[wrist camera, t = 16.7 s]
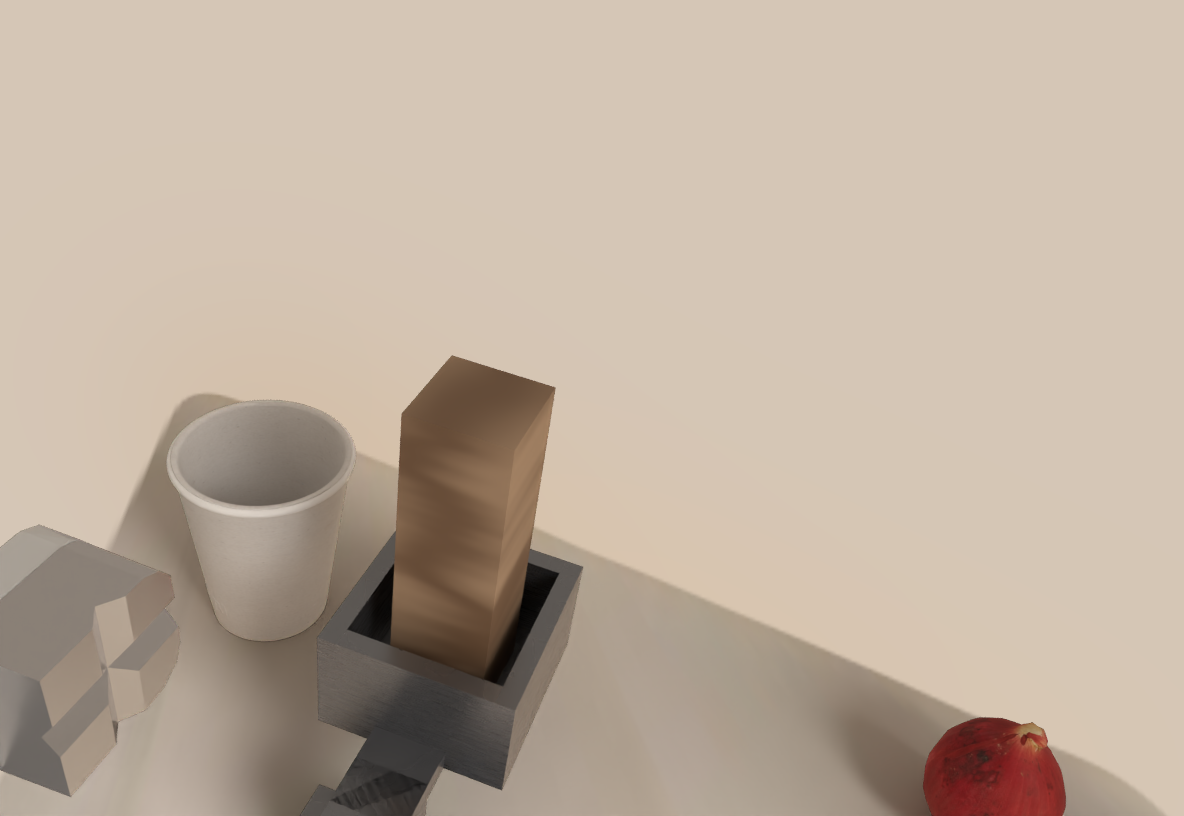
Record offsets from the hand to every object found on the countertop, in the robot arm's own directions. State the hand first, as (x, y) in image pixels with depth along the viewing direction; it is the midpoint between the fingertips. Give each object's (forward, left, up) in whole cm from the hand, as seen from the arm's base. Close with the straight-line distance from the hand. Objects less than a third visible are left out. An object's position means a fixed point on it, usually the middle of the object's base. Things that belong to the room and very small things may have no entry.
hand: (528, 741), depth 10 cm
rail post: (+8, -20, -25) cm, 33 cm away
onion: (-16, -26, -32) cm, 44 cm away
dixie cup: (+20, -25, -32) cm, 45 cm away
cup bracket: (+8, -17, -32) cm, 37 cm away
